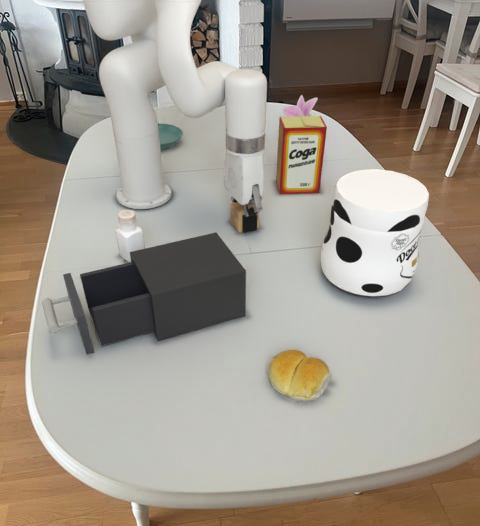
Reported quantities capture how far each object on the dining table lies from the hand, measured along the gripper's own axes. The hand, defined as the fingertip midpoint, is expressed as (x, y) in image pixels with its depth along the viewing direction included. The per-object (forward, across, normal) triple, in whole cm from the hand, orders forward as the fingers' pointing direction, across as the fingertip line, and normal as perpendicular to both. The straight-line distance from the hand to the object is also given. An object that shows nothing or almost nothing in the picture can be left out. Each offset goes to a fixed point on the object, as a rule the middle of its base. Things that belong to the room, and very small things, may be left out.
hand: (244, 223), depth 111 cm
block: (0, 0, 0) cm, 0 cm away
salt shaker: (+1, +2, -25) cm, 25 cm away
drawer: (-1, +21, -34) cm, 40 cm away
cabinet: (0, +21, -20) cm, 29 cm away
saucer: (+1, -50, -4) cm, 50 cm away
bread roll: (+1, +44, -11) cm, 45 cm away
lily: (+1, -41, +36) cm, 55 cm away
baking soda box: (+1, -11, +19) cm, 22 cm away
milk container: (+1, +26, +13) cm, 29 cm away
